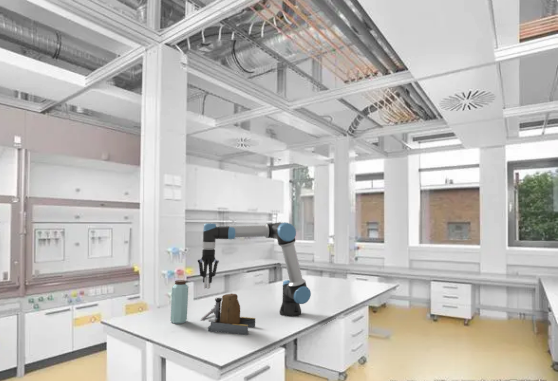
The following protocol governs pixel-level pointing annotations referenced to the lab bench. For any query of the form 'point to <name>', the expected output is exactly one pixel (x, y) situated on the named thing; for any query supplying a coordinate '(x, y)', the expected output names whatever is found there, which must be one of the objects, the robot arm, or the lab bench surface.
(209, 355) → the lab bench surface
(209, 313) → the caliper
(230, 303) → the brown stone
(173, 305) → the water bottle
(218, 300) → the bar
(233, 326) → the bay
